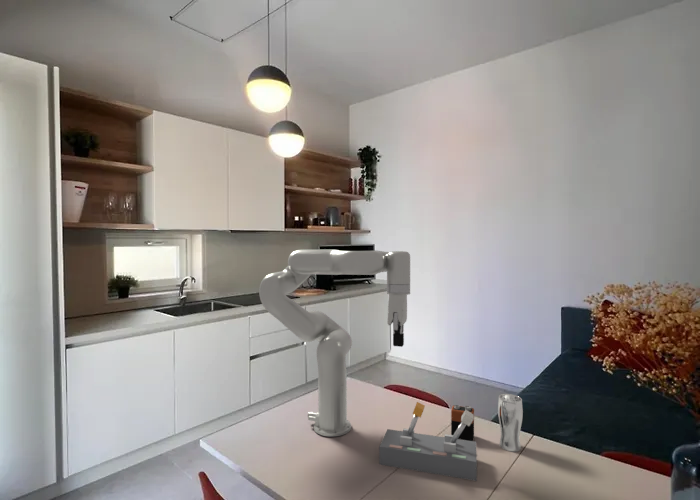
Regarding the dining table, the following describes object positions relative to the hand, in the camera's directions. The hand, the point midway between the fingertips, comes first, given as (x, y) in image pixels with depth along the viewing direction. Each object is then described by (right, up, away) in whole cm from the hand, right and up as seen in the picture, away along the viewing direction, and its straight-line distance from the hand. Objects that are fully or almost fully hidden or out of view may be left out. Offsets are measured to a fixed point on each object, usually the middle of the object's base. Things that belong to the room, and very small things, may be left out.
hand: (398, 345), depth 126 cm
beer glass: (+33, -29, -7) cm, 45 cm away
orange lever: (+1, -24, -14) cm, 27 cm away
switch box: (+7, -29, -16) cm, 34 cm away
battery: (+21, -29, -1) cm, 36 cm away
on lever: (+12, -24, -17) cm, 32 cm away
